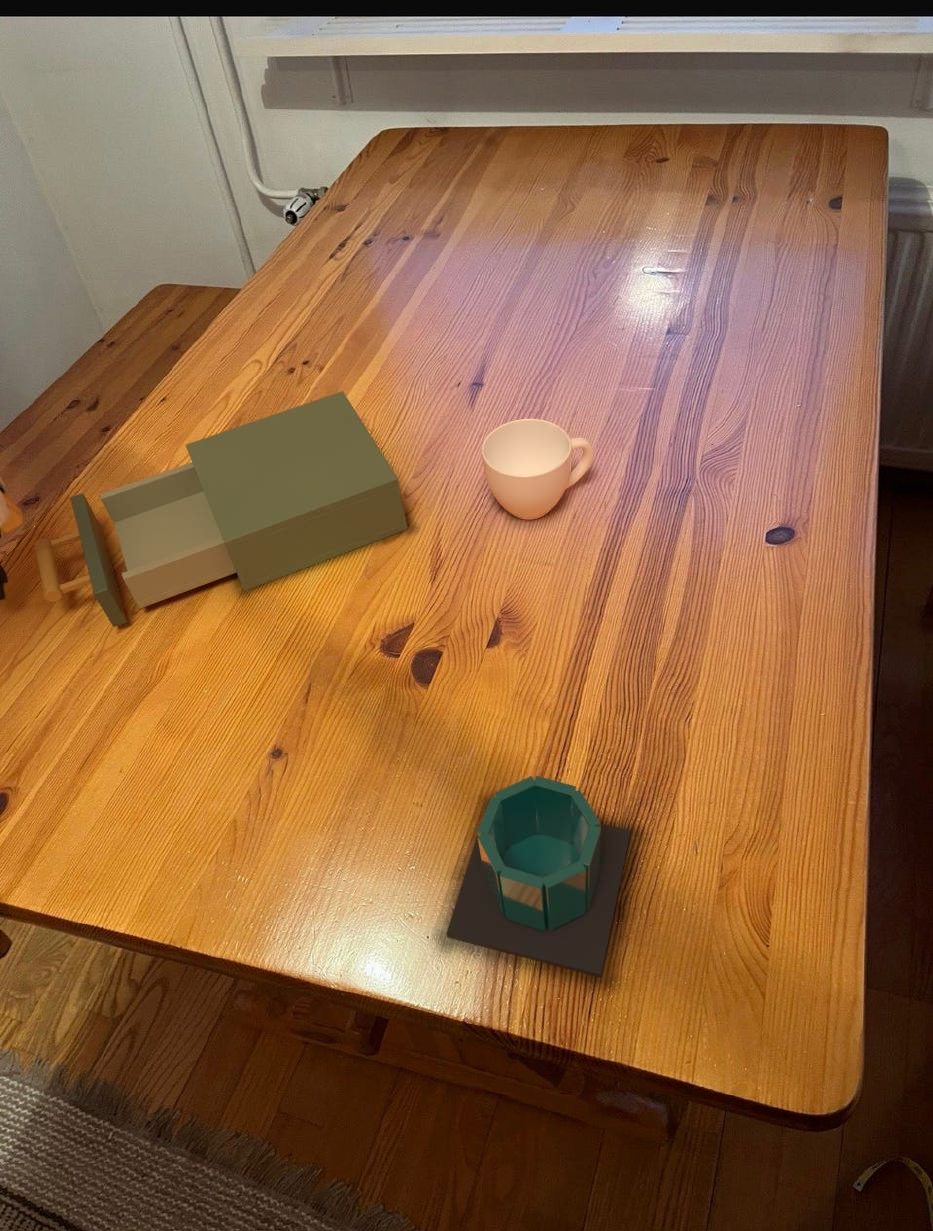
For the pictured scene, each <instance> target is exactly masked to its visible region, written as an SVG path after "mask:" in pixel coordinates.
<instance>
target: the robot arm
mask: <svg viewBox="0 0 933 1231" xmlns="http://www.w3.org/2000/svg"><path fill="white" fill-rule="evenodd" d="M7 494H8V490H7V487H6V484H5V483H4V480H3V478H2V477H1V476H0V539H2V536H3V535H7V534H8V533H10V532H12V531H13V530H15V529H17V528H19V527H20V526H22V525H23V524H24V522H25V520H24V515H23V510H22V509H21V508H20V507H19V506H18V505H17V504H16V503H14V502H13V500H11V499H10V498H9V497H8V496H7ZM8 583H9V578H8V575H7V572H6V570H5V568H4V567H3V565H2V564H1V563H0V601H4V600H6V591H5V586H4V585H5V584H8Z"/></svg>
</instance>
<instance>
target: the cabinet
mask: <svg viewBox="0 0 933 1231" xmlns="http://www.w3.org/2000/svg"><path fill="white" fill-rule="evenodd" d="M185 448H186V451H187V453H188V456H189V458H190V460H191V462H192V463H193V465H194V468H195V470H196V473H197V475H198V478H199V480H200V483H201V485H202V488H203V490H204V493H205V495H206V498H207V500H208V503H209V506H210V508H211V511H212V513H213V516H214V518H215V521H216V523H217V526H218V528H219V531H220V533H221V536H222V538H223V541H224V543H225V545H226V548H227V550H228V553H229V555H230V558H231V560H232V562H233V565H234V567H235V570H236V574H237V577H238V580H239V582H240V584H241V587H242V589H243V591H244V592H247V591H248V590H251V589H255V588H256V587H260V586H262V585H265V584H267V583H270V582H272V581H275V580H278V579H281V578H283V577H286V576H289V575H291V574H293V573H296V572H299V571H302V570H305V569H307V568H309V567H312V566H315V565H317V564H320V563H323V562H325V561H328V560H331V559H333V558H336V557H338V556H341V555H344V554H346V553H349V552H351V551H355V550H357V549H359V548H363V547H365V546H367V545H371V544H373V543H375V542H378V541H381V540H383V539H386V538H389V537H391V536H394V535H397V534H398V533H402V532H404V531H407V530H408V529H409V526H408V523H407V522H408V521H407V518H406V513H405V506H404V501H403V497H402V491H401V487H400V482H399V481H400V480H399V478H398V476H397V475H396V473H395V471H394V470H393V468H392V467H391V465H390V463H389V462H388V460H387V459H386V457H385V456H384V453H383V452H382V451H381V449H380V448H379V446H378V445H377V443H376V441H375V439H374V438H373V436H372V435H371V433H370V431H369V429H368V428H367V426H365V424H364V422H363V420H362V419H361V417H360V416H359V414H358V413H357V411H356V409H355V408H354V406H353V404H352V403H351V402H350V399H348V397H347V395H346V394H345V392H344V391H343V390H341V391H339V392H335V393H333V394H330V395H327V396H324V397H321V398H318V399H315V400H313V401H309V402H306V403H303V404H301V405H298V406H295V407H292V408H288V409H286V410H283V411H280V412H276V413H274V414H271V415H268V416H266V417H265V416H264V417H262V418H259V419H256V420H254V421H251V422H248V423H245V424H242V425H238V426H236V427H233V428H230V429H227V430H225V431H221V432H219V433H216V434H213V435H210V436H207V437H204V438H201V439H198V440H195V441H192V442H190V443H186V444H185Z"/></svg>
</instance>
